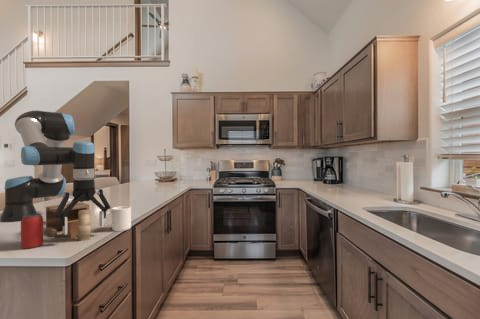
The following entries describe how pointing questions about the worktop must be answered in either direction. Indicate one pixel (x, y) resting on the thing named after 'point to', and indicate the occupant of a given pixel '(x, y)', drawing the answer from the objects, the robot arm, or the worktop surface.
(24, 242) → the beer can
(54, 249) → the worktop surface
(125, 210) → the cup
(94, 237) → the worktop surface
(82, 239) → the tethered cylinder
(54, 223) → the cubby shelf
